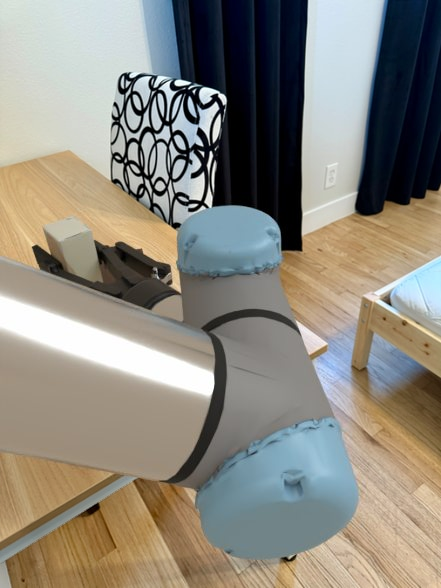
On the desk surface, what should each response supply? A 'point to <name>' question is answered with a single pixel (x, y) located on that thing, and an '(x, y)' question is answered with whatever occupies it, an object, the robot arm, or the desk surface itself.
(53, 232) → the box
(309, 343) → the desk surface
